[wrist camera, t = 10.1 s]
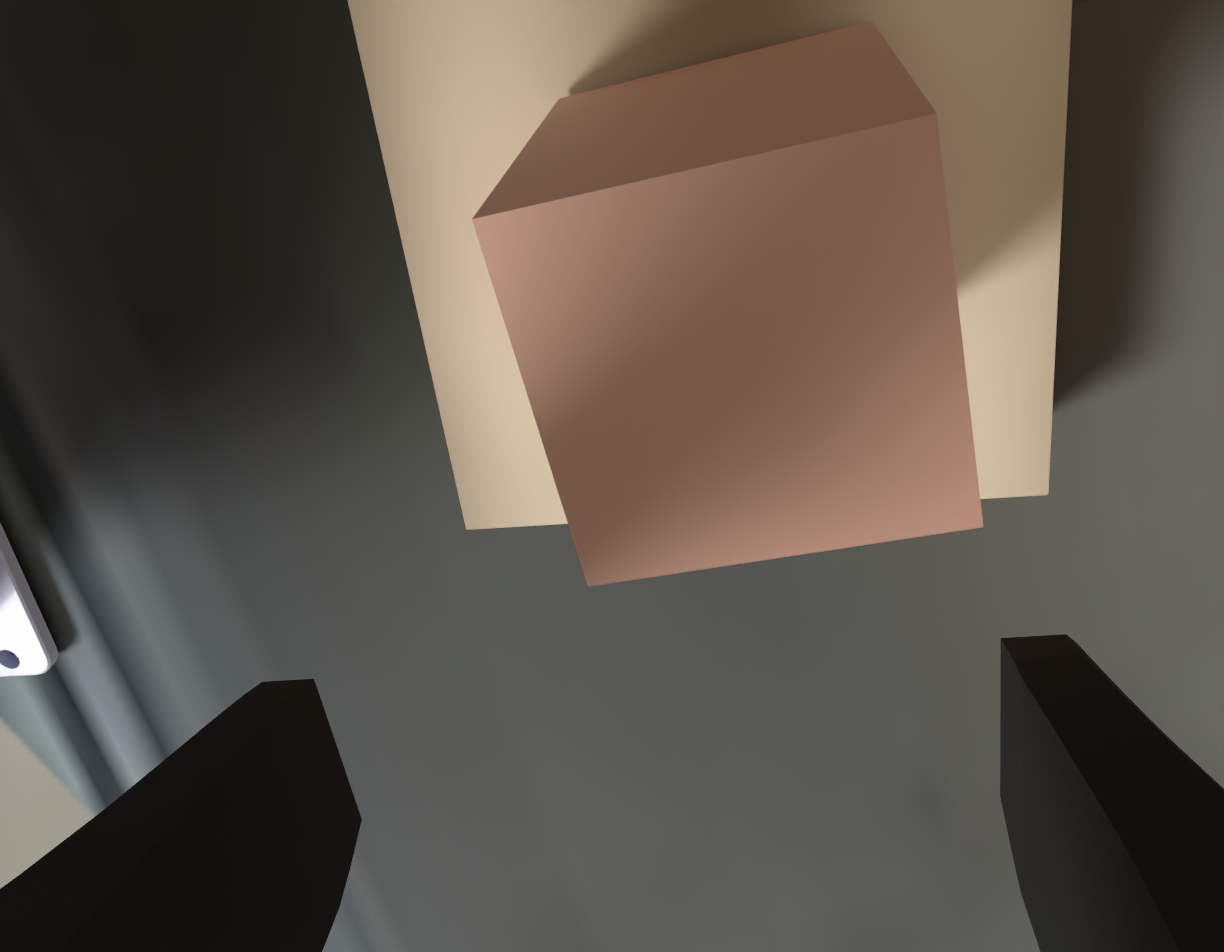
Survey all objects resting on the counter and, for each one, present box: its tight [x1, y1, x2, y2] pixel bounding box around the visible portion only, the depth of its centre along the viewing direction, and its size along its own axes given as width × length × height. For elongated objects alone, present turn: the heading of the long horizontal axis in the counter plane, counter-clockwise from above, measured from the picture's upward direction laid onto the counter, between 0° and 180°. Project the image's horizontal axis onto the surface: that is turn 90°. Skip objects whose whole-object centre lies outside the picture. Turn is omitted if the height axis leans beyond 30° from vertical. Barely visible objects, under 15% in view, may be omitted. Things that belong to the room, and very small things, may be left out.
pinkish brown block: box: [472, 21, 983, 586], centre depth 14 cm, size 4×4×6 cm
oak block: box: [348, 0, 1072, 530], centre depth 18 cm, size 10×10×3 cm
